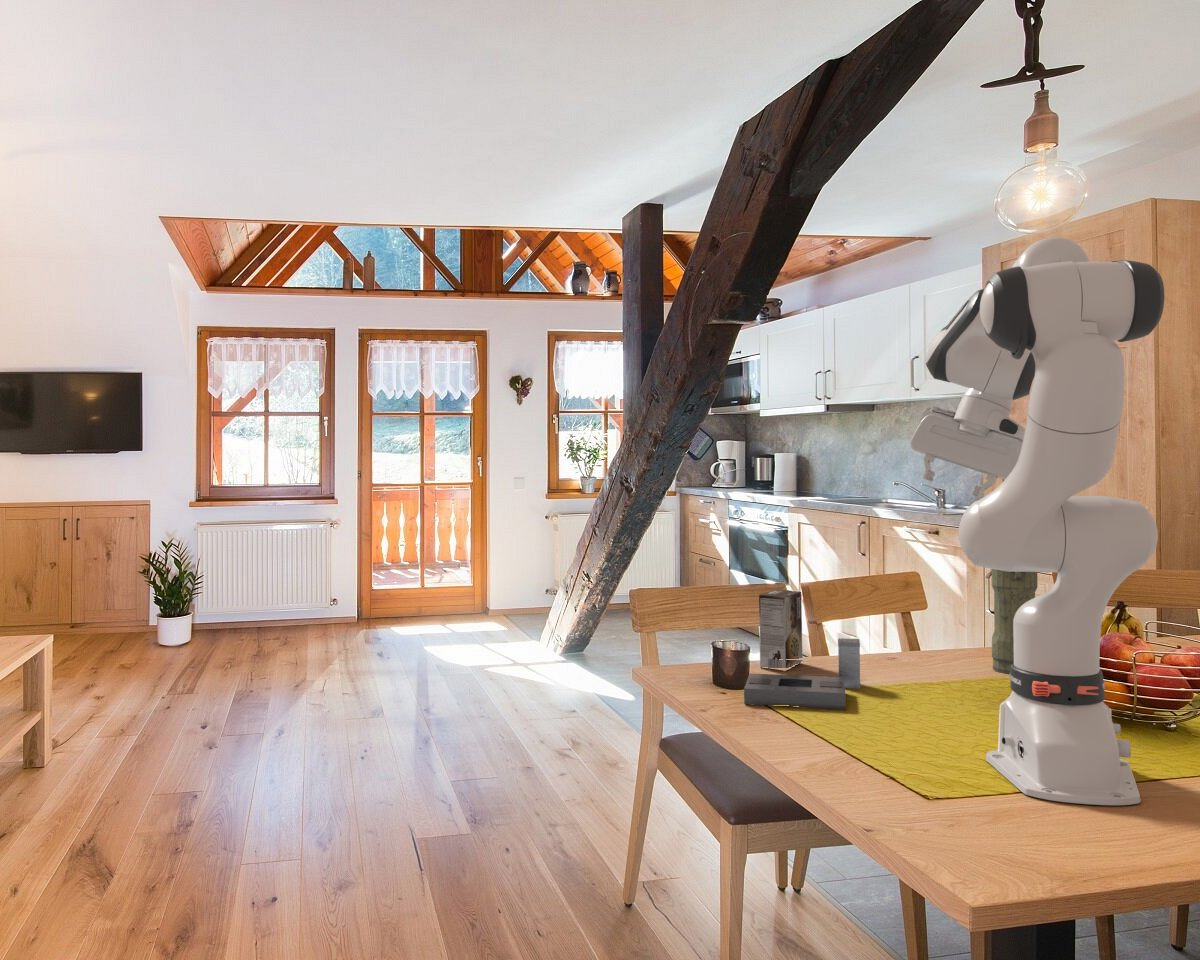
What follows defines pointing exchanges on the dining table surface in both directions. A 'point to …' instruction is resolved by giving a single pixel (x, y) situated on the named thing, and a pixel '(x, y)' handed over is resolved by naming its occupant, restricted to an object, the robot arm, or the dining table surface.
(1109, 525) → the robot arm
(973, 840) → the dining table surface
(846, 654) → the light grey block
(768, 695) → the grey slotted base
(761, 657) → the coffee box
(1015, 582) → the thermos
